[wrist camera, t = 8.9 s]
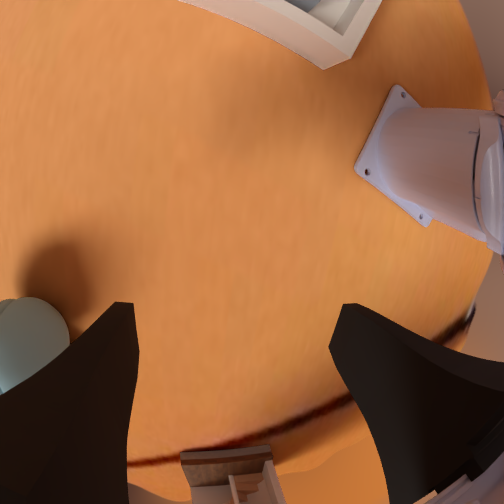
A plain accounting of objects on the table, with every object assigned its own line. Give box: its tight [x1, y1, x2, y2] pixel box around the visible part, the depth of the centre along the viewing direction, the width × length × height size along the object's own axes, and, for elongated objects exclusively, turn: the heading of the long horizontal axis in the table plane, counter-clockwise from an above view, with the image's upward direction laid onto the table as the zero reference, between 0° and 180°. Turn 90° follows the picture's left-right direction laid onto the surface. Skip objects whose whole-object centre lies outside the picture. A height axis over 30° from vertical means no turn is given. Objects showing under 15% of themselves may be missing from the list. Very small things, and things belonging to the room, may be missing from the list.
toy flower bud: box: [0, 297, 70, 395], centre depth 14 cm, size 7×9×12 cm
